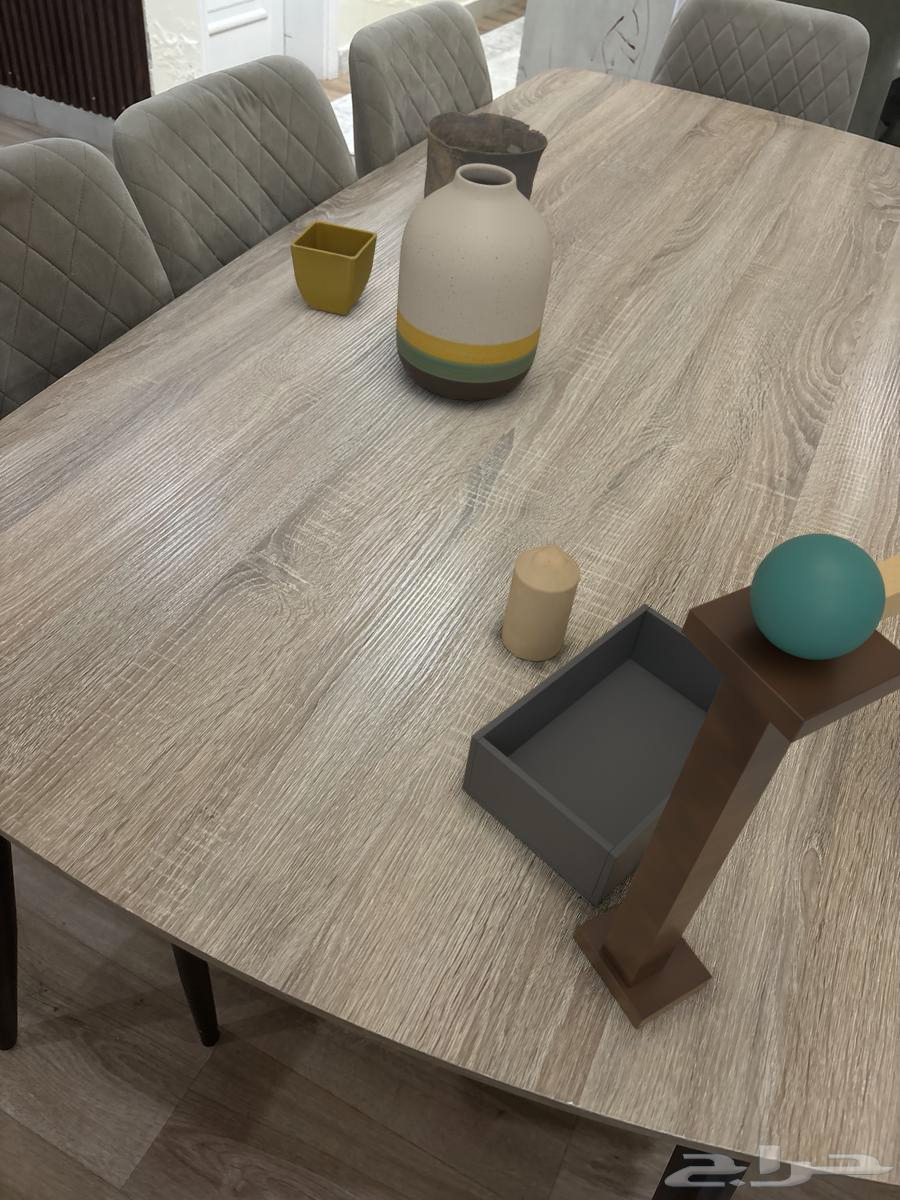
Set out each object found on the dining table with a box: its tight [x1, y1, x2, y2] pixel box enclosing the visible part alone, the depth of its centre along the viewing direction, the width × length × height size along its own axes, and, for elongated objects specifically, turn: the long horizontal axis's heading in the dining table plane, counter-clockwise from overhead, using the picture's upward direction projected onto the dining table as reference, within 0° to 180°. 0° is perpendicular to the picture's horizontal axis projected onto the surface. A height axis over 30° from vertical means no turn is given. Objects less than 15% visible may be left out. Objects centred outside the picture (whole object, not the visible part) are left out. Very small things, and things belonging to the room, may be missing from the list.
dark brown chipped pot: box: [423, 111, 549, 202], centre depth 140 cm, size 18×18×15 cm
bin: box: [461, 603, 724, 908], centre depth 72 cm, size 13×21×7 cm, turn 135°
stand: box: [573, 584, 900, 1030], centre depth 52 cm, size 7×7×32 cm
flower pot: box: [289, 220, 378, 316], centre depth 122 cm, size 9×9×9 cm
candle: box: [501, 544, 581, 662], centre depth 80 cm, size 6×6×10 cm
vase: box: [395, 163, 554, 401], centre depth 107 cm, size 17×17×24 cm
